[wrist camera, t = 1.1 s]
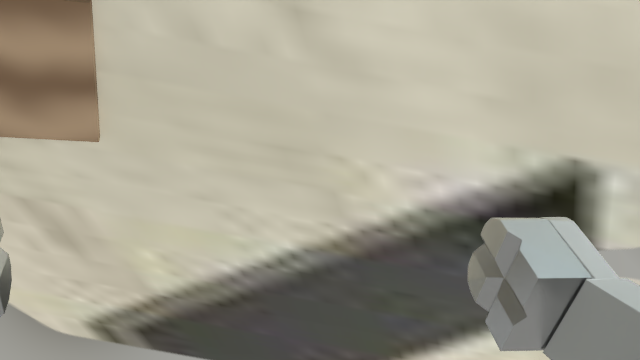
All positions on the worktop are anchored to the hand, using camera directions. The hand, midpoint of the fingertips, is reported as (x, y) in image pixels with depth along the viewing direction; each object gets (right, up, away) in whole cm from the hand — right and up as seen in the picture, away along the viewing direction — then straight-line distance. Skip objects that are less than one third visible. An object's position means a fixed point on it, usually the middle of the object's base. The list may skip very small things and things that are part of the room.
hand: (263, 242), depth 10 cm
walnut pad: (-24, +10, +34) cm, 42 cm away
